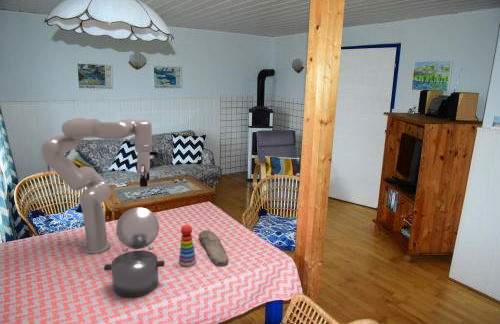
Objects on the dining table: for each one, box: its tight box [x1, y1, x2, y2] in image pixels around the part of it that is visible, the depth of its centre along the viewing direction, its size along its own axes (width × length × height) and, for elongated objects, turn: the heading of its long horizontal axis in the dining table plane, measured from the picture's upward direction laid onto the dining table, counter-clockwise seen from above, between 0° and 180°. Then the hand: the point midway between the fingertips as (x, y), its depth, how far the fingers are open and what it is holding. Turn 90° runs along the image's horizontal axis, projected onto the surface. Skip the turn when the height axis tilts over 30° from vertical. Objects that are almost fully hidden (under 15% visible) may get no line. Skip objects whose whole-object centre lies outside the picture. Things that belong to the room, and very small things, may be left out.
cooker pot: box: [103, 246, 165, 299], centre depth 147 cm, size 24×19×12 cm
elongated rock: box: [198, 229, 229, 267], centre depth 178 cm, size 35×5×10 cm
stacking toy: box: [178, 224, 197, 267], centre depth 163 cm, size 8×8×19 cm
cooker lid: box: [115, 206, 160, 250], centre depth 156 cm, size 18×18×4 cm
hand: (144, 183), depth 167 cm, fingers open, 9 cm apart
